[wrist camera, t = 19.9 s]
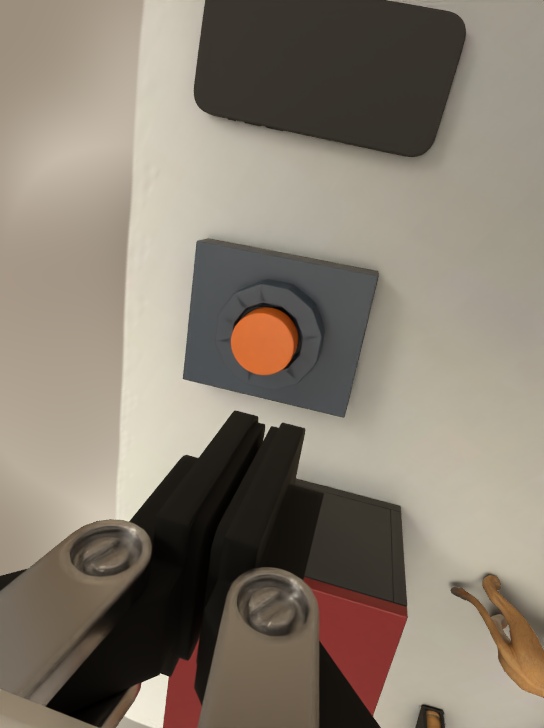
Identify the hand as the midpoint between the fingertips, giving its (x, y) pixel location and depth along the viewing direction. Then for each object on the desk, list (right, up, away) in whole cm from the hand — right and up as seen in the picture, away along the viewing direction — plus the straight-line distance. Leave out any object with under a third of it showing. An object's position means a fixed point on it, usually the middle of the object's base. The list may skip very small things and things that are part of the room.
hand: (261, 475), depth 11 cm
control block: (+1, +5, +23) cm, 24 cm away
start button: (0, +4, +20) cm, 20 cm away
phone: (+3, +20, +18) cm, 27 cm away
